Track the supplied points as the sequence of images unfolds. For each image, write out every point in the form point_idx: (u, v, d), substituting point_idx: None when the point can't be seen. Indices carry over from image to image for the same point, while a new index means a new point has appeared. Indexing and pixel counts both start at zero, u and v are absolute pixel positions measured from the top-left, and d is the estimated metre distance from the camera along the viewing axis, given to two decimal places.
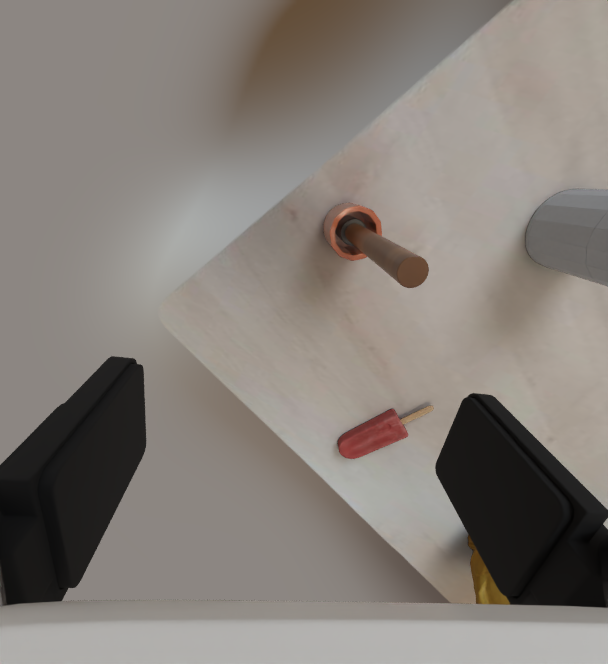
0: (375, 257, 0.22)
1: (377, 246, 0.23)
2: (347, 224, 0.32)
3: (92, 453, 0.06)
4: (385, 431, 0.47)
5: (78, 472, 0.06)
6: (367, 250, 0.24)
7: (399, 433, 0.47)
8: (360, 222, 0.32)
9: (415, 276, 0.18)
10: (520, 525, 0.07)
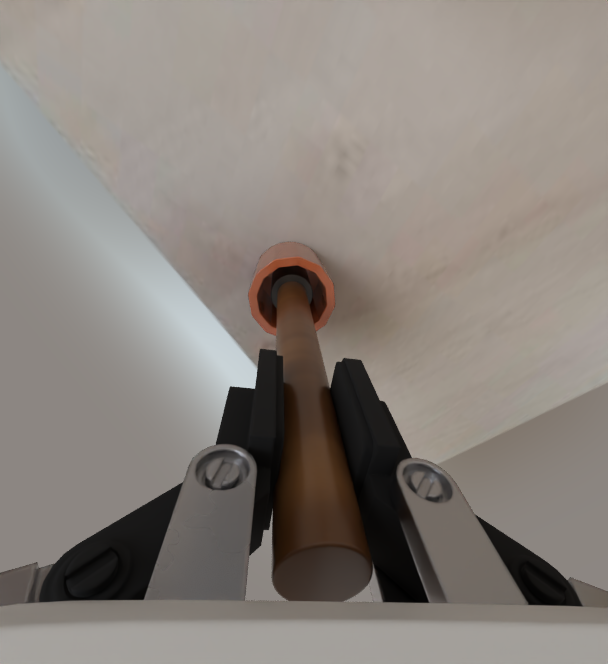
0: None
1: None
2: None
3: None
4: None
5: None
6: None
7: None
8: (276, 284, 0.20)
9: (337, 571, 0.06)
10: None
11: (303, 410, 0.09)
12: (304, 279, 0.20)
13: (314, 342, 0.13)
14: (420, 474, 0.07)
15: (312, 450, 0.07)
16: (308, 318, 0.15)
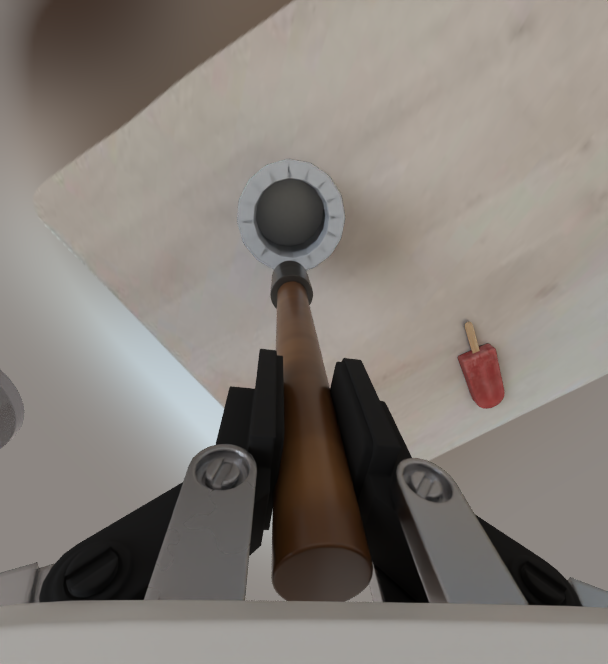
0: None
1: None
2: None
3: None
4: (480, 370, 0.45)
5: None
6: None
7: (487, 357, 0.45)
8: (276, 284, 0.20)
9: (337, 572, 0.06)
10: None
11: (303, 410, 0.09)
12: (304, 279, 0.20)
13: (314, 342, 0.13)
14: (420, 474, 0.07)
15: (312, 451, 0.07)
16: (308, 318, 0.15)
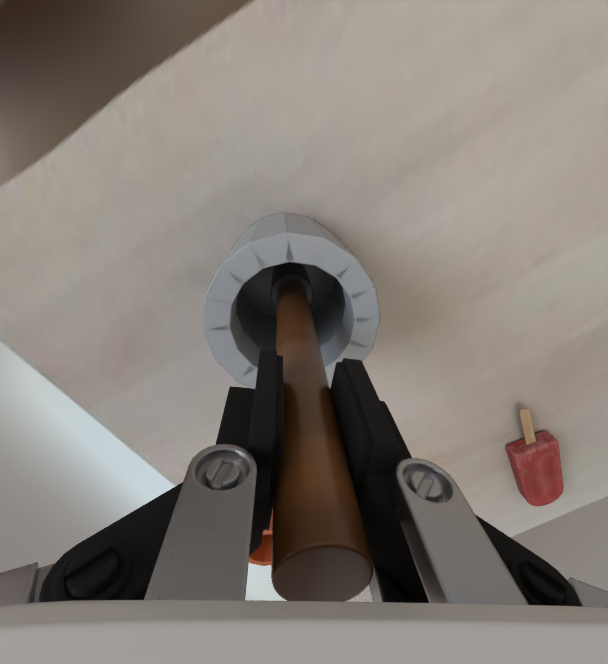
0: None
1: None
2: None
3: None
4: (535, 465, 0.35)
5: None
6: None
7: (547, 451, 0.34)
8: (276, 284, 0.20)
9: (337, 572, 0.06)
10: None
11: (304, 411, 0.09)
12: (304, 279, 0.20)
13: (314, 342, 0.13)
14: (420, 474, 0.07)
15: (312, 450, 0.07)
16: (308, 318, 0.15)
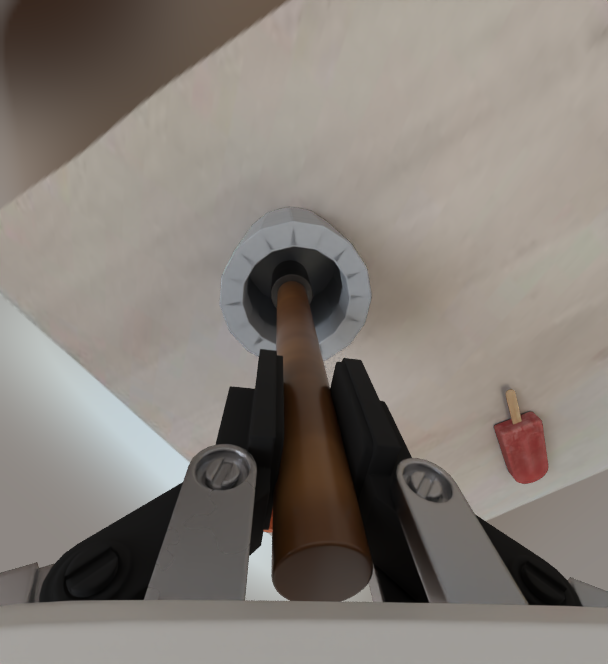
0: None
1: None
2: None
3: None
4: (521, 443, 0.38)
5: None
6: None
7: (531, 430, 0.37)
8: (276, 284, 0.20)
9: (337, 571, 0.06)
10: None
11: (304, 410, 0.09)
12: (304, 279, 0.20)
13: (314, 342, 0.13)
14: (420, 474, 0.07)
15: (312, 450, 0.07)
16: (308, 318, 0.15)
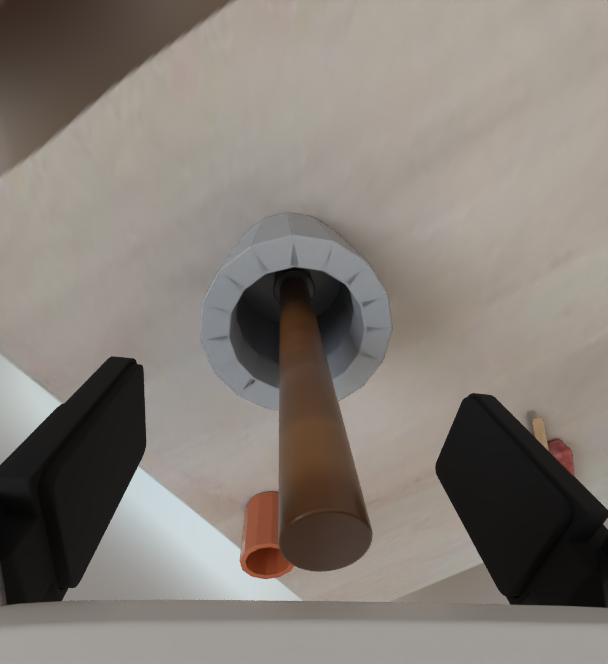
0: None
1: None
2: None
3: (92, 453, 0.06)
4: None
5: (78, 472, 0.06)
6: None
7: (560, 461, 0.33)
8: (279, 280, 0.20)
9: (339, 537, 0.06)
10: (520, 525, 0.07)
11: (307, 395, 0.09)
12: (306, 275, 0.20)
13: (316, 334, 0.13)
14: None
15: (315, 430, 0.08)
16: (310, 312, 0.15)
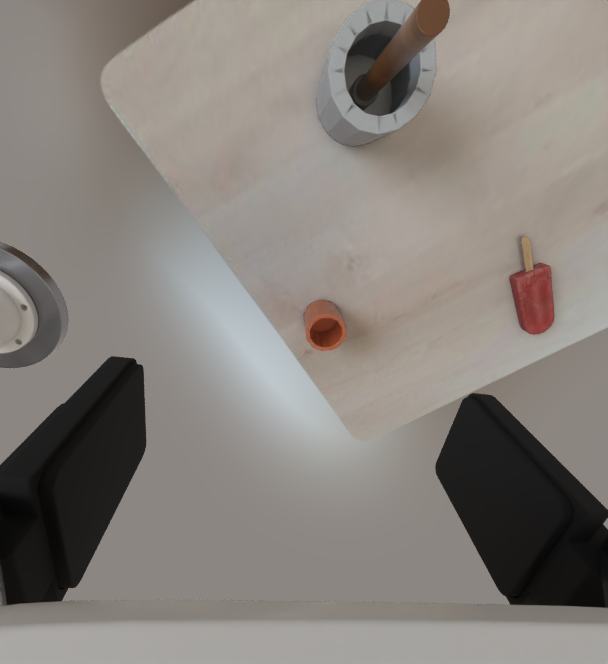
0: (403, 63, 0.22)
1: (391, 60, 0.22)
2: (356, 97, 0.32)
3: (92, 453, 0.06)
4: (532, 290, 0.45)
5: (78, 472, 0.06)
6: (392, 73, 0.24)
7: (541, 275, 0.44)
8: (357, 81, 0.32)
9: (438, 10, 0.17)
10: (520, 525, 0.07)
11: None
12: None
13: None
14: None
15: None
16: None
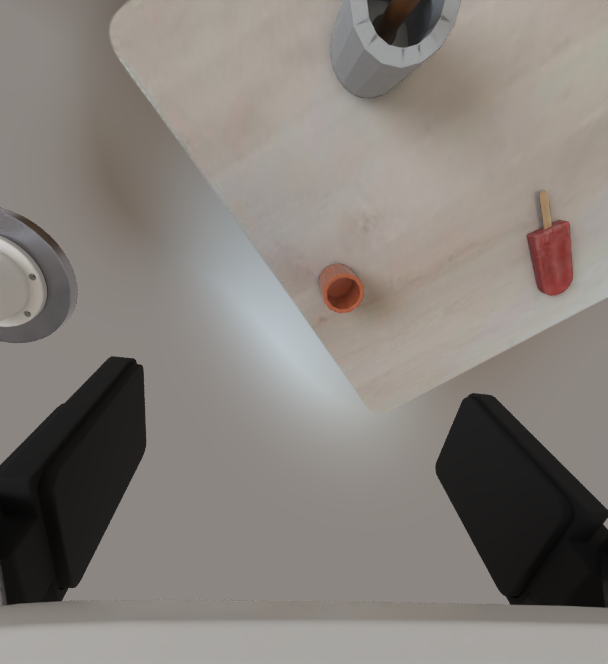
0: None
1: None
2: None
3: (92, 453, 0.06)
4: (551, 247, 0.44)
5: (78, 472, 0.06)
6: None
7: (560, 232, 0.43)
8: (375, 21, 0.31)
9: None
10: (520, 525, 0.07)
11: None
12: None
13: None
14: None
15: None
16: None
